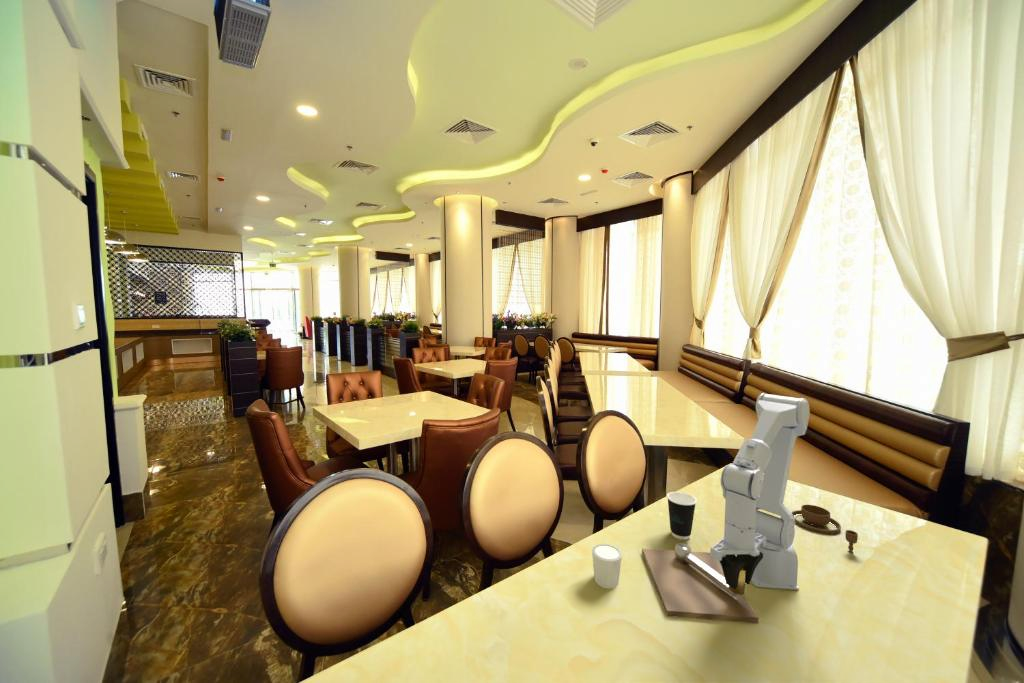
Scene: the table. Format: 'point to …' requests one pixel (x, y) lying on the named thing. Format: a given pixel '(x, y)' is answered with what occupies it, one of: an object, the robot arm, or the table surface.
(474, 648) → the table surface
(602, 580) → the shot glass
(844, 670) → the table surface
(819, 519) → the place setting
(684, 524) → the dixie cup
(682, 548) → the lever
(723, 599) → the bench base
